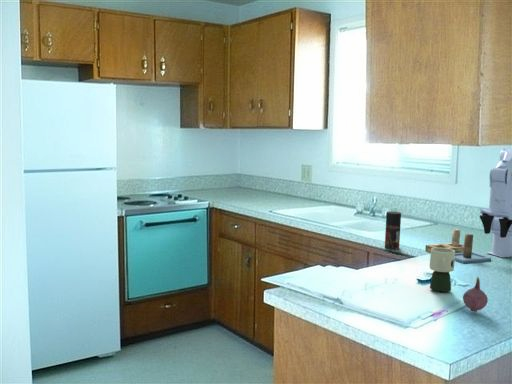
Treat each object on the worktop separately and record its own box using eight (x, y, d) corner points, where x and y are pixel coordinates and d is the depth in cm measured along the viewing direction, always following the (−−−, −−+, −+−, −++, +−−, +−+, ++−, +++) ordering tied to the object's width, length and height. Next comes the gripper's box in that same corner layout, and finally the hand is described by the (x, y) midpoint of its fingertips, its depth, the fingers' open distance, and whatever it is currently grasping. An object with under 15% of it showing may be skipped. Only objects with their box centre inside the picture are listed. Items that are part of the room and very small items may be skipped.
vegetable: (490, 316, 144) (493, 280, 142) (468, 316, 143) (471, 280, 142) (479, 308, 150) (482, 274, 149) (458, 308, 149) (460, 274, 148)
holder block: (455, 248, 227) (455, 242, 226) (469, 252, 219) (470, 246, 219) (425, 250, 221) (425, 245, 220) (438, 255, 213) (439, 249, 213)
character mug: (454, 297, 160) (457, 254, 158) (429, 294, 161) (432, 252, 160) (450, 286, 170) (452, 246, 169) (426, 284, 172) (429, 245, 170)
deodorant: (388, 245, 229) (390, 211, 227) (401, 247, 225) (403, 212, 224) (382, 247, 225) (384, 212, 223) (395, 250, 221) (397, 214, 219)
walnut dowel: (467, 256, 210) (469, 233, 209) (473, 257, 208) (474, 235, 207) (461, 256, 209) (463, 234, 208) (467, 258, 207) (469, 235, 206)
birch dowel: (455, 250, 223) (456, 229, 222) (460, 251, 221) (461, 230, 220) (449, 250, 222) (451, 229, 221) (454, 252, 220) (456, 230, 218)
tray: (471, 254, 216) (471, 251, 216) (490, 260, 207) (491, 257, 207) (444, 257, 210) (444, 254, 210) (462, 263, 201) (463, 260, 201)
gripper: (475, 197, 207) (472, 232, 208) (505, 202, 193) (502, 239, 195) (488, 197, 209) (486, 231, 211) (519, 202, 196) (516, 238, 198)
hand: (495, 235), depth 203 cm, fingers open, 7 cm apart
